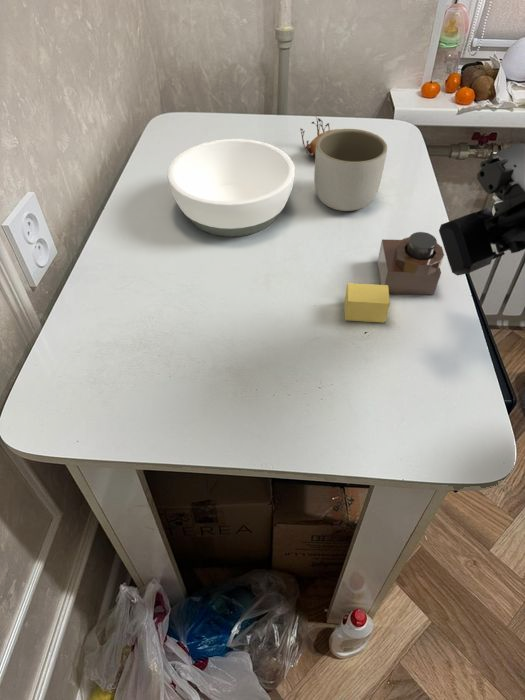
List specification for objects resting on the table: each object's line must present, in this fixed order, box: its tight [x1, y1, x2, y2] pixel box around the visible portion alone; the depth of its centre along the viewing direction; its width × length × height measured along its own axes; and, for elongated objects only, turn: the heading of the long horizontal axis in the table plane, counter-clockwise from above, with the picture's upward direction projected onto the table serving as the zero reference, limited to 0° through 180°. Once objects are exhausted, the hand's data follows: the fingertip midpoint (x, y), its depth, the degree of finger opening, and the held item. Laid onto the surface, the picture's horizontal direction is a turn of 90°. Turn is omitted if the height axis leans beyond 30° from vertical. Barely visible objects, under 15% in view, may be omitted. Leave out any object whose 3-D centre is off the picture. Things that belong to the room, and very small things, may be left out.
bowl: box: [167, 138, 296, 238], centre depth 91 cm, size 22×22×8 cm
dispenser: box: [377, 236, 445, 295], centre depth 79 cm, size 9×8×6 cm
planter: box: [313, 128, 388, 212], centre depth 92 cm, size 12×12×11 cm
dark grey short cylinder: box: [406, 231, 438, 260], centre depth 75 cm, size 4×4×2 cm
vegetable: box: [299, 116, 340, 158], centre depth 104 cm, size 16×11×10 cm
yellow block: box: [343, 282, 391, 324], centre depth 75 cm, size 6×4×4 cm, turn 85°
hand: (462, 240), depth 67 cm, fingers closed
